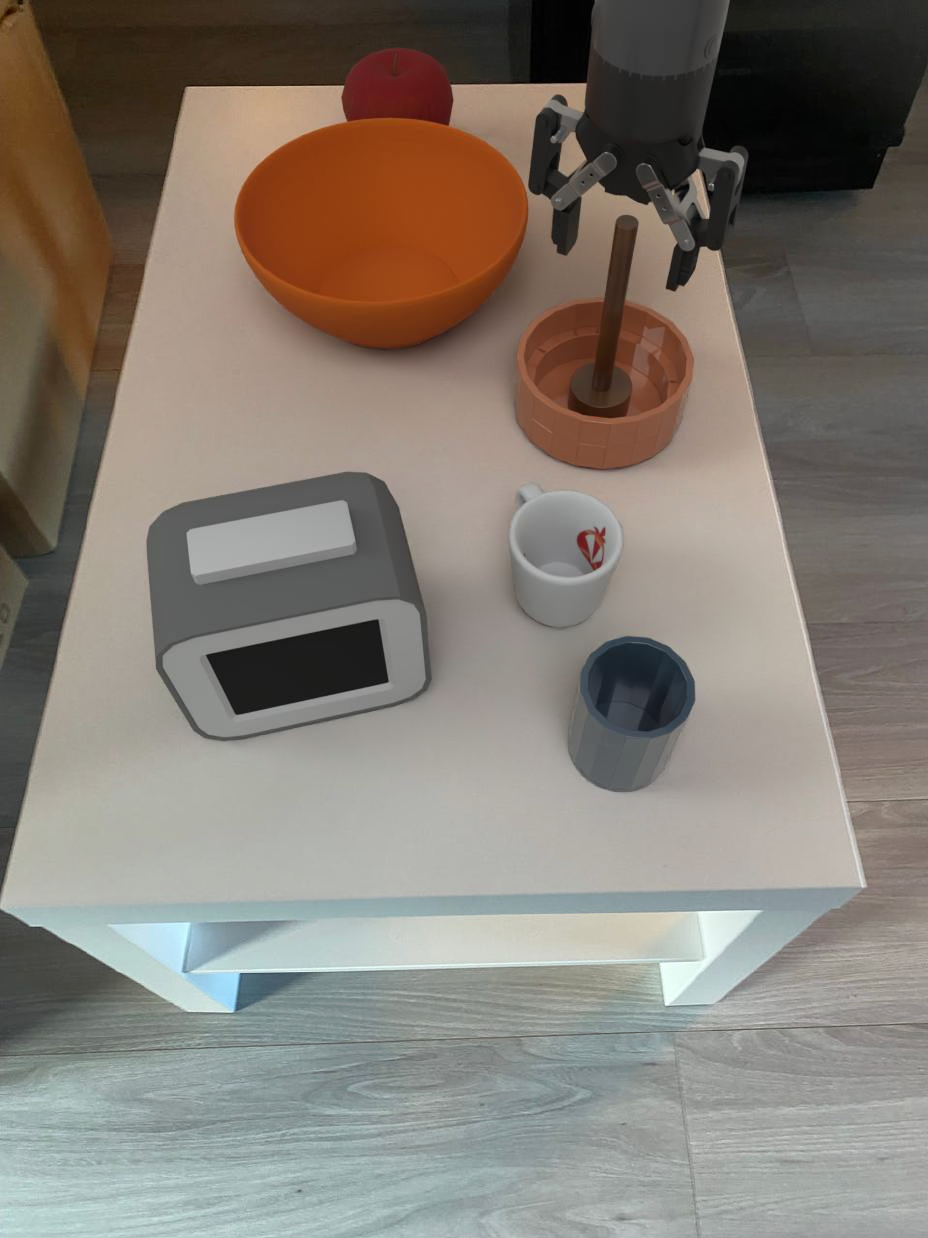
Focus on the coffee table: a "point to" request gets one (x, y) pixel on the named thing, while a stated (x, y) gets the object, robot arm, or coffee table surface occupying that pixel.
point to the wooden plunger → (608, 337)
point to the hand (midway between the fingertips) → (619, 265)
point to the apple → (398, 87)
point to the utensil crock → (629, 712)
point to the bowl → (382, 228)
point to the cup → (562, 553)
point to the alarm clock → (286, 606)
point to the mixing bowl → (571, 342)
